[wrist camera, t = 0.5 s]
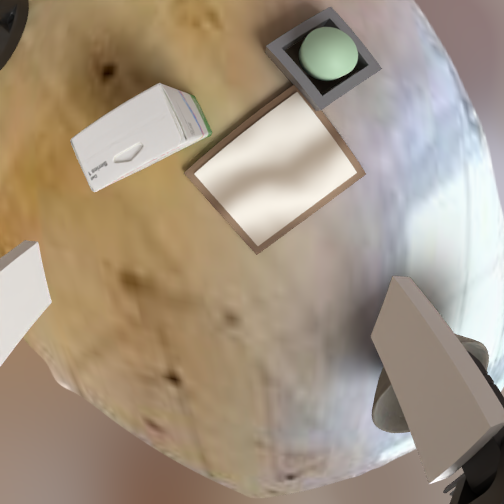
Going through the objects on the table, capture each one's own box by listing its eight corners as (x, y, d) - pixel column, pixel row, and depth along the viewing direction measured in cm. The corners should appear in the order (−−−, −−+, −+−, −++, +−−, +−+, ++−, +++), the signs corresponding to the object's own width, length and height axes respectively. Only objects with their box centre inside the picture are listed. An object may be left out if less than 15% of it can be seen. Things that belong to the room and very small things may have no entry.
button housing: (265, 53, 26) (265, 46, 23) (324, 15, 23) (330, 6, 21) (314, 111, 28) (320, 110, 25) (371, 72, 26) (382, 68, 23)
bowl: (476, 319, 39) (506, 356, 30) (410, 395, 46) (427, 435, 37) (409, 282, 36) (444, 327, 27) (333, 377, 43) (346, 428, 34)
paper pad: (184, 172, 31) (183, 173, 30) (297, 82, 27) (298, 81, 26) (256, 252, 35) (256, 255, 34) (364, 173, 31) (366, 174, 30)
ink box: (195, 93, 27) (160, 78, 17) (214, 135, 29) (189, 142, 18) (125, 130, 29) (65, 139, 18) (143, 169, 31) (91, 196, 20)
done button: (287, 51, 24) (291, 44, 21) (326, 27, 23) (333, 18, 20) (320, 90, 26) (327, 87, 23) (358, 65, 24) (368, 60, 21)
